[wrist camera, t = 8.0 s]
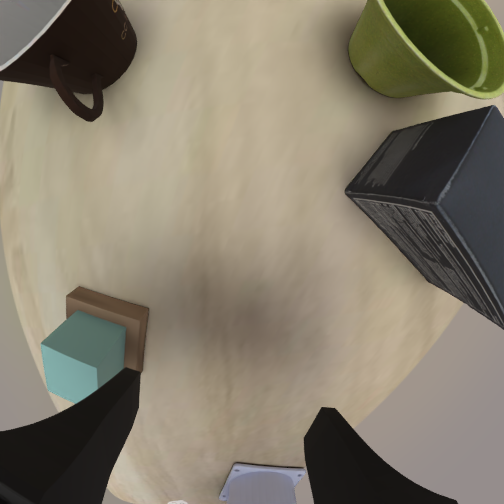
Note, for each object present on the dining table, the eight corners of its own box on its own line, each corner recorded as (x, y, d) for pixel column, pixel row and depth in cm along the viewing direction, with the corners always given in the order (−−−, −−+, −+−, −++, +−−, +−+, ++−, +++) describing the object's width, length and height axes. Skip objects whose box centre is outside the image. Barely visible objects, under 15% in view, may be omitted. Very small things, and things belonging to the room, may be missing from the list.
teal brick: (123, 370, 19) (99, 413, 14) (78, 353, 19) (48, 390, 14) (126, 327, 18) (96, 368, 14) (77, 309, 18) (40, 343, 13)
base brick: (142, 371, 22) (135, 385, 20) (79, 348, 21) (69, 360, 19) (148, 308, 20) (140, 321, 18) (78, 286, 20) (66, 295, 18)
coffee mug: (59, 30, 14) (-12, -15, 5) (154, -2, 15) (109, -82, 5) (50, 158, 17) (-50, 159, 8) (152, 135, 17) (69, 102, 8)
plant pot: (428, 28, 15) (488, -12, 7) (442, 130, 17) (524, 119, 9) (321, 0, 15) (355, -70, 7) (329, 110, 17) (386, 67, 9)
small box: (471, 223, 19) (567, 254, 9) (428, 284, 20) (515, 346, 10) (394, 125, 17) (499, 97, 7) (340, 192, 19) (432, 210, 8)
